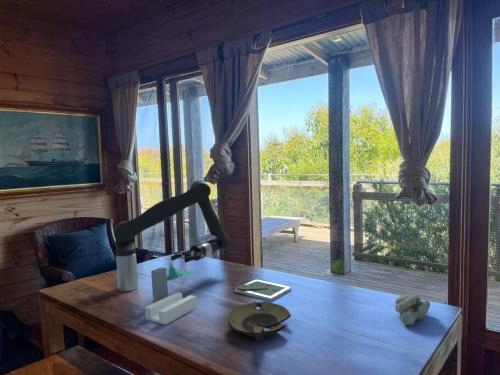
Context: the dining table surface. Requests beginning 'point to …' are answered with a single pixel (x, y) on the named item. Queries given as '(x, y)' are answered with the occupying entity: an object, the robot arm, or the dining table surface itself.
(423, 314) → the mineral
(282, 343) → the dining table surface
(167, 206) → the robot arm
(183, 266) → the dining table surface
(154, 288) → the slate slat
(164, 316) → the rail
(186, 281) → the dining table surface
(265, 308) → the oil lamp
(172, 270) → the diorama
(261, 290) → the picture frame
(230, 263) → the dining table surface
